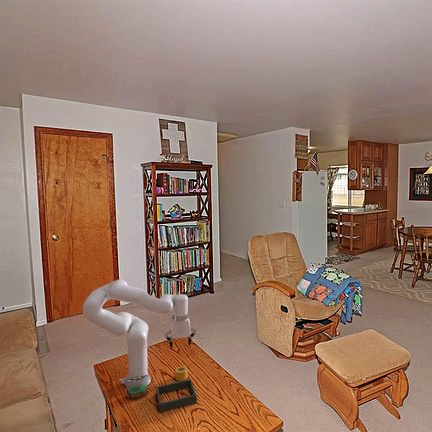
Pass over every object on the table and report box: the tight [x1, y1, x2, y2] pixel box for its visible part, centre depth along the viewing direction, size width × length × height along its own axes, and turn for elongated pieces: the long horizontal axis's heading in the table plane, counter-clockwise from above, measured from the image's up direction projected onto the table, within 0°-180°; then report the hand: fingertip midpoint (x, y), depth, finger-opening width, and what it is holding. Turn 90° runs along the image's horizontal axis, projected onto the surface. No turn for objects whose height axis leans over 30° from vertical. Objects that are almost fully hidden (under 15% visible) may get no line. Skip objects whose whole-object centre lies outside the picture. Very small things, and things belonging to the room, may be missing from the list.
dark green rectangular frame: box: [156, 378, 197, 413], centre depth 175 cm, size 18×16×4 cm
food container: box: [123, 373, 150, 400], centre depth 175 cm, size 12×6×10 cm, turn 118°
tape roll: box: [174, 365, 189, 382], centre depth 194 cm, size 7×7×5 cm
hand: (180, 346), depth 192 cm, fingers open, 9 cm apart
